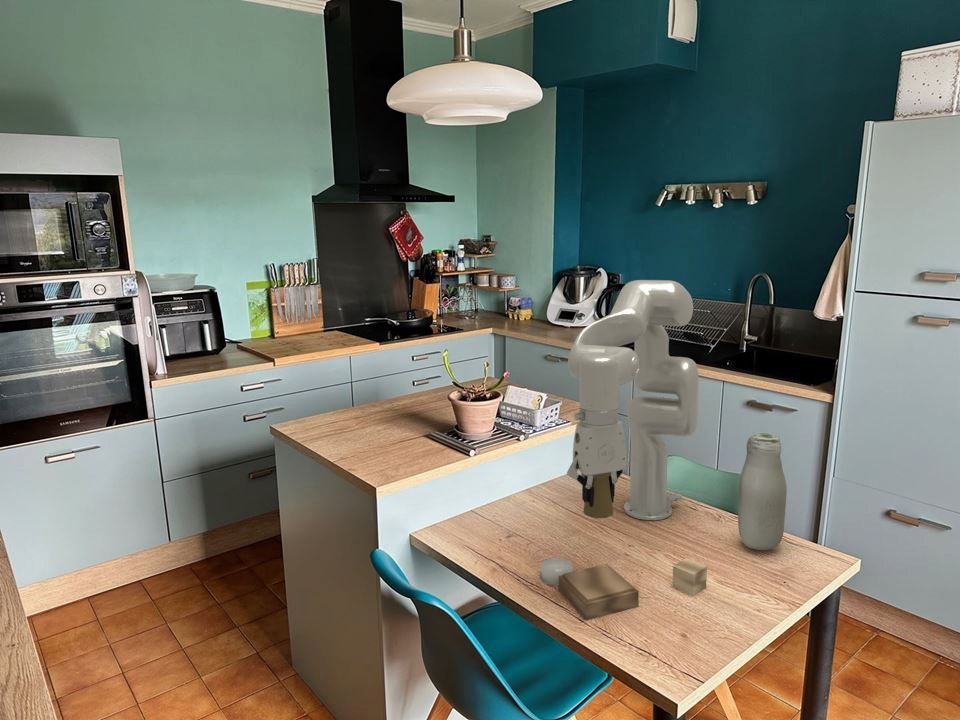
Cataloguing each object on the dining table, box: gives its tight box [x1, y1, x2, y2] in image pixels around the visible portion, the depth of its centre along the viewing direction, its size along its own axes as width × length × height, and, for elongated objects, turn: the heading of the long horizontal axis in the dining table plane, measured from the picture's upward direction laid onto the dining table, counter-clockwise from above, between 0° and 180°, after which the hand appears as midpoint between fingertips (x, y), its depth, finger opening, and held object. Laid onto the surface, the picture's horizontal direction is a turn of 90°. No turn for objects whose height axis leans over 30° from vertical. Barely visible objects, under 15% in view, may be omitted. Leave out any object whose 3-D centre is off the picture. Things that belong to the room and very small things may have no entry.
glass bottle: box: [737, 432, 788, 551], centre depth 160 cm, size 10×10×28 cm
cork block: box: [671, 557, 708, 597], centre depth 146 cm, size 5×5×5 cm
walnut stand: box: [558, 563, 640, 621], centre depth 143 cm, size 12×12×4 cm
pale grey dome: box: [540, 557, 573, 587], centre depth 152 cm, size 7×7×3 cm
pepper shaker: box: [583, 472, 614, 519], centre depth 139 cm, size 6×6×11 cm
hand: (598, 501), depth 139 cm, fingers closed on pepper shaker, 3 cm apart
